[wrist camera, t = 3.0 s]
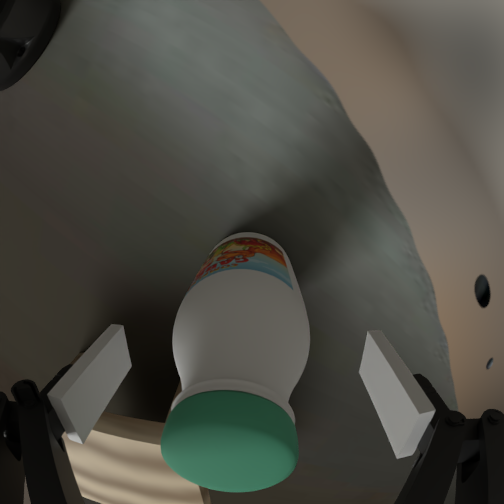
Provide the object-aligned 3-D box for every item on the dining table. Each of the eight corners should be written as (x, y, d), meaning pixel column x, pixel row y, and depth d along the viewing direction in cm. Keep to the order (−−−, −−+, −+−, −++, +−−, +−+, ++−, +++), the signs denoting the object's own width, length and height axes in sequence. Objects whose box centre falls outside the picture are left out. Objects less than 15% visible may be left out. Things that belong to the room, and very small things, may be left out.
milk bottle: (307, 260, 26) (397, 433, 7) (261, 324, 28) (261, 522, 9) (234, 213, 26) (162, 327, 6) (191, 284, 27) (93, 458, 8)
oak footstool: (69, 344, 30) (15, 401, 18) (210, 362, 29) (188, 449, 18) (106, 439, 34) (78, 494, 23) (220, 458, 34) (211, 526, 22)
